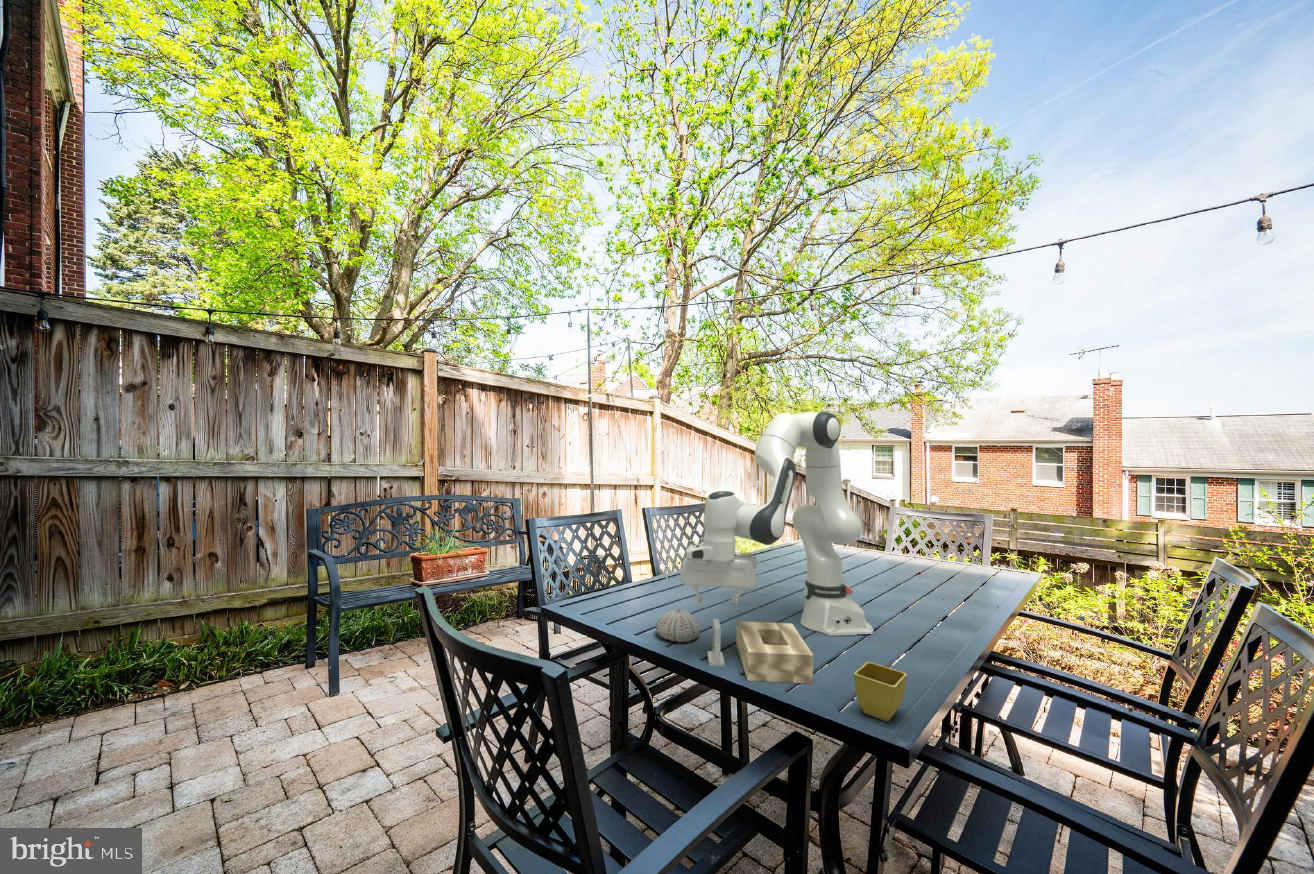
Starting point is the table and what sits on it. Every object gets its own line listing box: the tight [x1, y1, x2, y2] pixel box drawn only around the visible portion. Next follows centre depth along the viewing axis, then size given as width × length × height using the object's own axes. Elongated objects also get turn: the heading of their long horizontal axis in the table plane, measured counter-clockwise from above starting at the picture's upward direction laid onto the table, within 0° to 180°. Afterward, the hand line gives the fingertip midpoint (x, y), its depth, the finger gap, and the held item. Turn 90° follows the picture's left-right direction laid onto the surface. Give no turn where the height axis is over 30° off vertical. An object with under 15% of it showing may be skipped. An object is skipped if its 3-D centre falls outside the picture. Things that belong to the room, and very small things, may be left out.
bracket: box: [706, 618, 725, 667], centre depth 136 cm, size 4×7×10 cm, turn 178°
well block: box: [735, 620, 814, 685], centre depth 136 cm, size 16×22×7 cm
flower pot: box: [853, 661, 908, 722], centre depth 111 cm, size 9×9×9 cm
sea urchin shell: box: [655, 608, 701, 643], centre depth 153 cm, size 13×14×8 cm
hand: (716, 602), depth 136 cm, fingers open, 8 cm apart
